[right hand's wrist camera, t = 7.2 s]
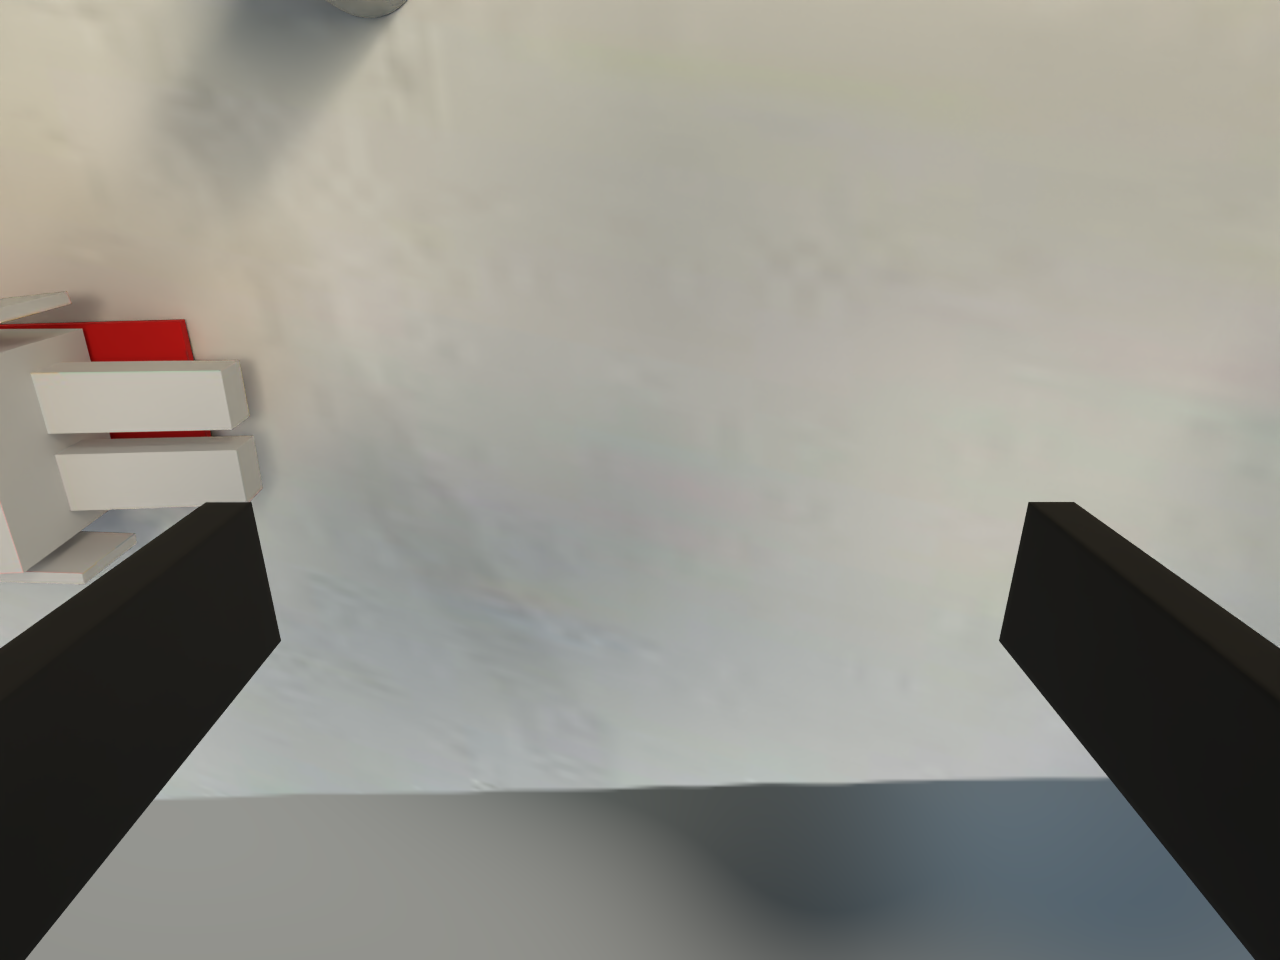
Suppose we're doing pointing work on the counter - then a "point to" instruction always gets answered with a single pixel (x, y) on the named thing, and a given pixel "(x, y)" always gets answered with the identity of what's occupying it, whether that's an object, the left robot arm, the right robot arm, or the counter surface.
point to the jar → (367, 7)
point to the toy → (107, 435)
